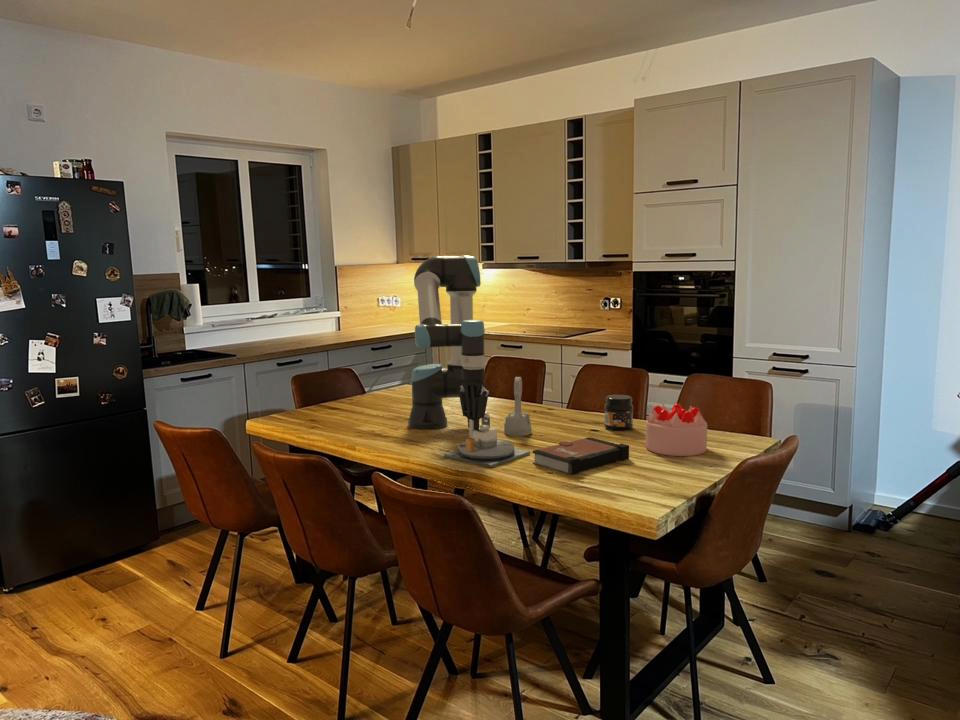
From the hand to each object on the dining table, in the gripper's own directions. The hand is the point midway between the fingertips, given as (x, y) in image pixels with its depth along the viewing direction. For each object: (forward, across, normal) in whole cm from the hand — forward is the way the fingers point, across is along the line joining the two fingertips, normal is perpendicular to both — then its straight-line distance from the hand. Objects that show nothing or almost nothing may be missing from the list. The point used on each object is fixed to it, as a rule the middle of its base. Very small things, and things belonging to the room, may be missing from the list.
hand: (473, 438), depth 240 cm
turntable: (+4, +5, 0) cm, 7 cm away
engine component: (+5, -6, +32) cm, 33 cm away
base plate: (+5, +6, 0) cm, 7 cm away
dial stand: (+4, -1, +7) cm, 8 cm away
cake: (+5, +49, +46) cm, 68 cm away
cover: (+2, +5, 0) cm, 5 cm away
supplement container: (+5, +19, +60) cm, 63 cm away
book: (+6, +33, +14) cm, 36 cm away
